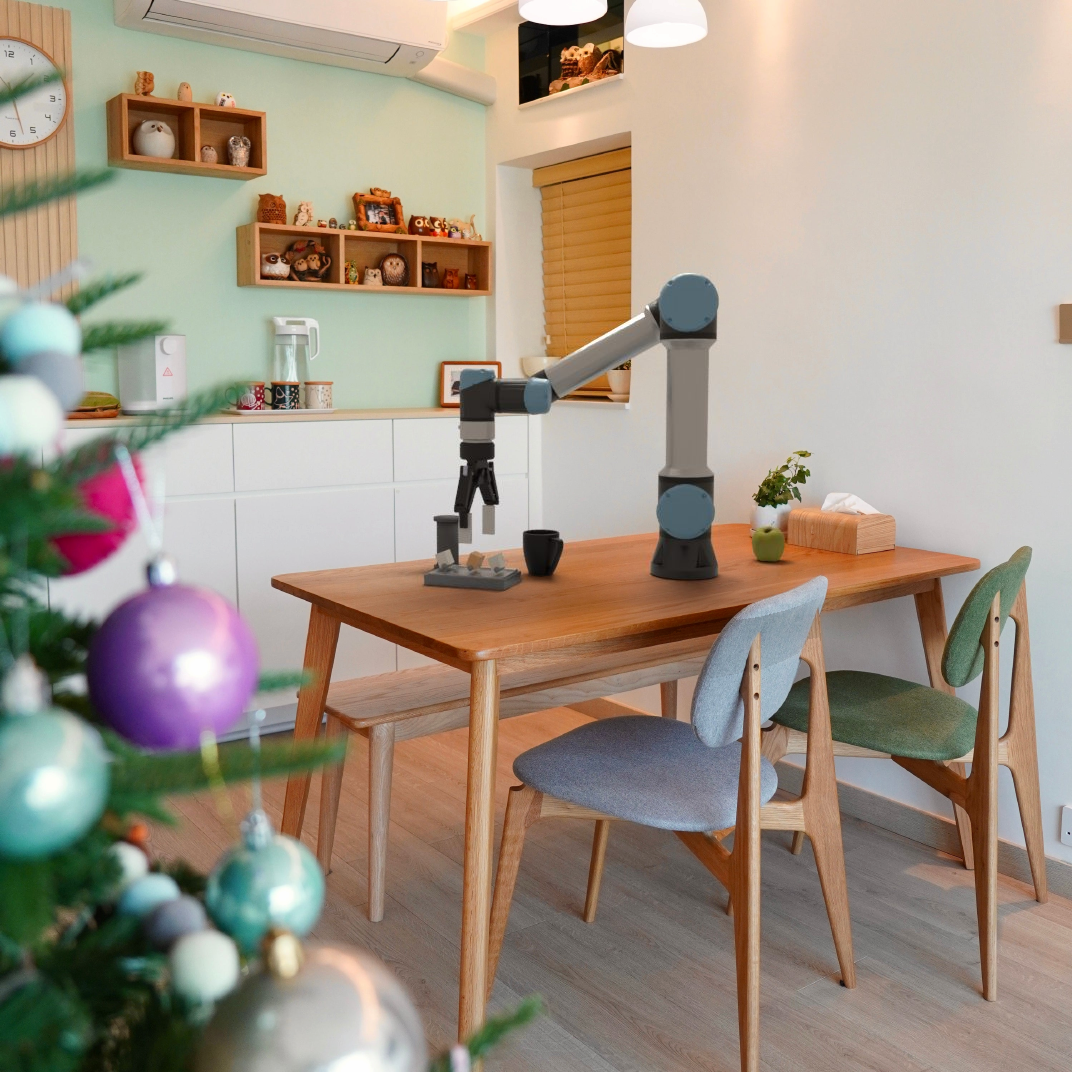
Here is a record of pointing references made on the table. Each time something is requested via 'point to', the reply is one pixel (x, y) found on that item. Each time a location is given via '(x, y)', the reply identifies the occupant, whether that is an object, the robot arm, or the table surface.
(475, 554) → the paddle mid
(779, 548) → the apple
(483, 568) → the breaker strip
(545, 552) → the mug
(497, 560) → the paddle
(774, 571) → the table surface
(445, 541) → the dark grey flanged cylinder
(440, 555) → the paddle
